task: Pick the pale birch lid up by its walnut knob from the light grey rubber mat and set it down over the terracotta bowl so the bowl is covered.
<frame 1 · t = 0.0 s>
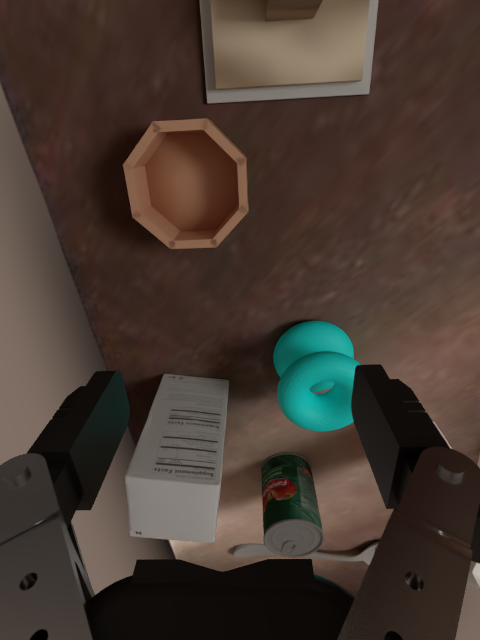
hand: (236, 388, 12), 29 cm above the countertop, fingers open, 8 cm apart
milk: (404, 424, 51), on the countertop
supplement box: (195, 401, 50), on the countertop
canned tomato: (285, 468, 56), on the countertop
donuts: (310, 350, 46), on the countertop
bowl: (194, 183, 37), on the countertop
spoon: (327, 545, 65), on the countertop
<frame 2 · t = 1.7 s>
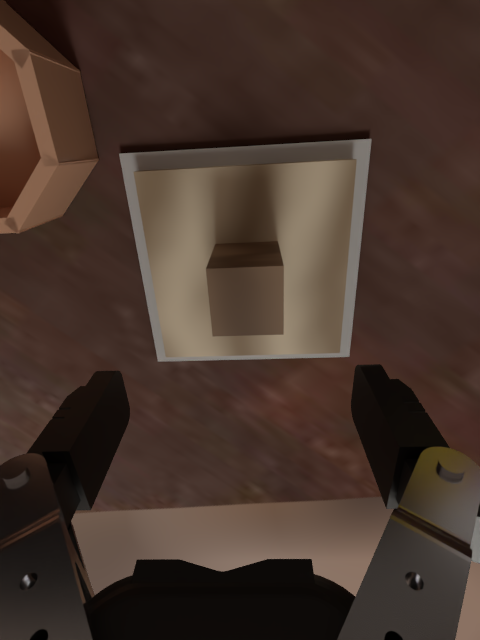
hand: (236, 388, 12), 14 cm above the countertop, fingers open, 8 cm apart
lid: (248, 267, 24), resting on mat
mat: (248, 265, 25), on the countertop
bowl: (0, 123, 21), on the countertop
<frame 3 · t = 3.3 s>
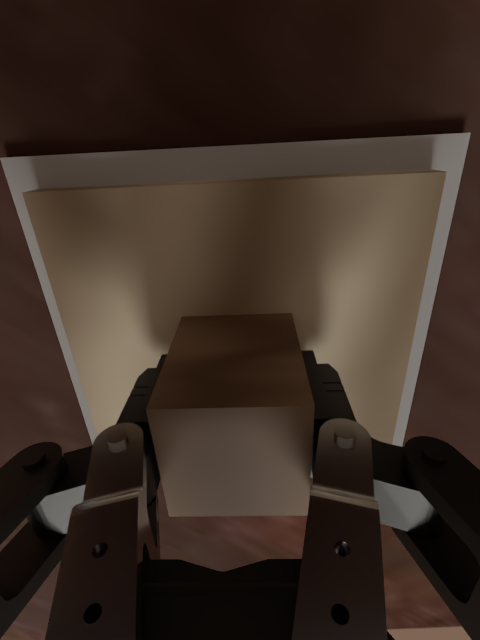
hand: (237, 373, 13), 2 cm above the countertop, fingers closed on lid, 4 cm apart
lid: (239, 347, 15), resting on mat, touching gripper
mat: (240, 342, 15), on the countertop
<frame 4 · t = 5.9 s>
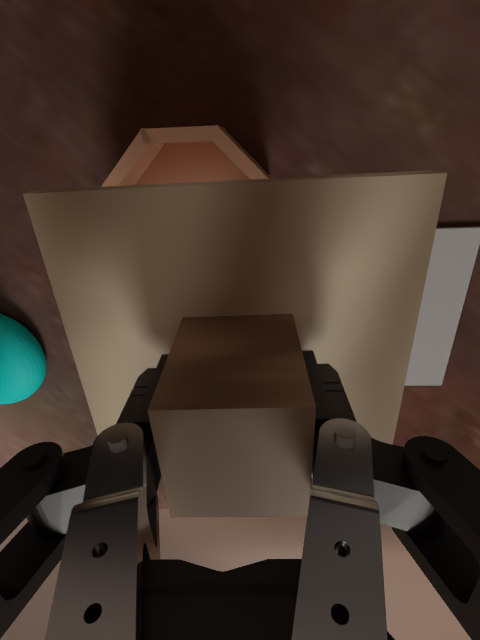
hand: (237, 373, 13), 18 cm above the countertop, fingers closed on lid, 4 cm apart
lid: (240, 348, 15), point 16 cm above the countertop, touching gripper
donuts: (3, 349, 35), on the countertop
mat: (370, 314, 31), on the countertop
bowl: (199, 208, 28), on the countertop
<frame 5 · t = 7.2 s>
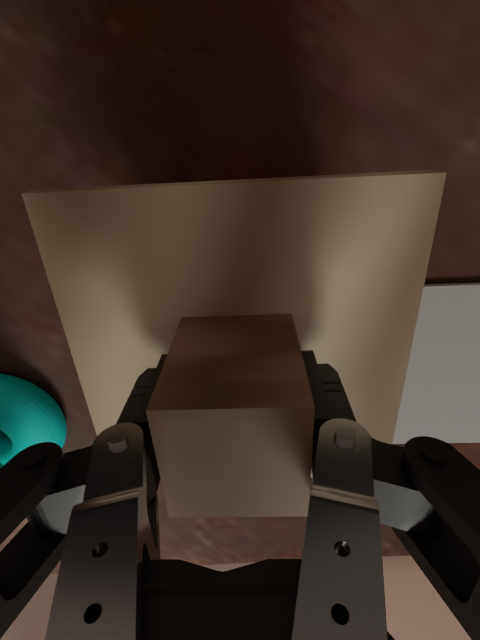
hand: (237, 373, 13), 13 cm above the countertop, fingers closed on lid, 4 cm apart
lid: (239, 348, 15), point 11 cm above the countertop, touching gripper
donuts: (17, 411, 32), on the countertop
mat: (429, 371, 28), on the countertop
when the fingers open (8 cm above the countertop, at t = 8.5 s): lid stays where it is, resting on bowl.
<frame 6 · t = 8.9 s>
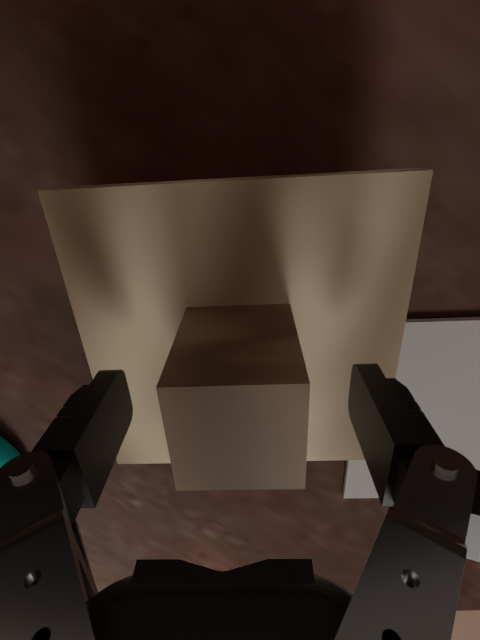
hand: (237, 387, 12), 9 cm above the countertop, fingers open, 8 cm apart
lid: (241, 337, 15), point 5 cm above the countertop, touching bowl
mat: (465, 417, 23), on the countertop
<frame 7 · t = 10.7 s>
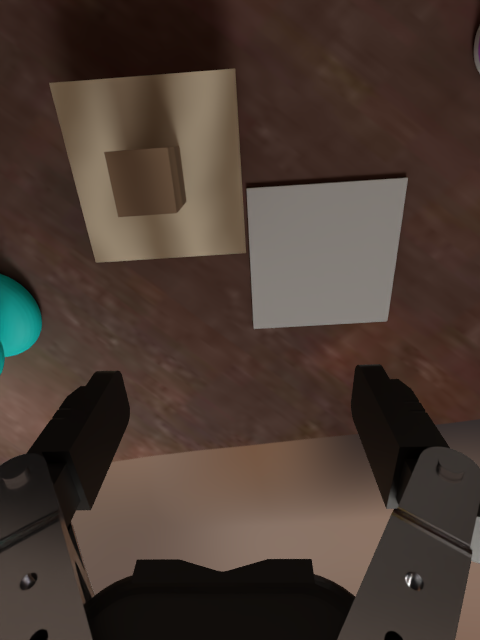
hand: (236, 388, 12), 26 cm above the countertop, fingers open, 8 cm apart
lid: (160, 175, 28), point 5 cm above the countertop, touching bowl
donuts: (1, 308, 39), on the countertop
mat: (322, 259, 37), on the countertop
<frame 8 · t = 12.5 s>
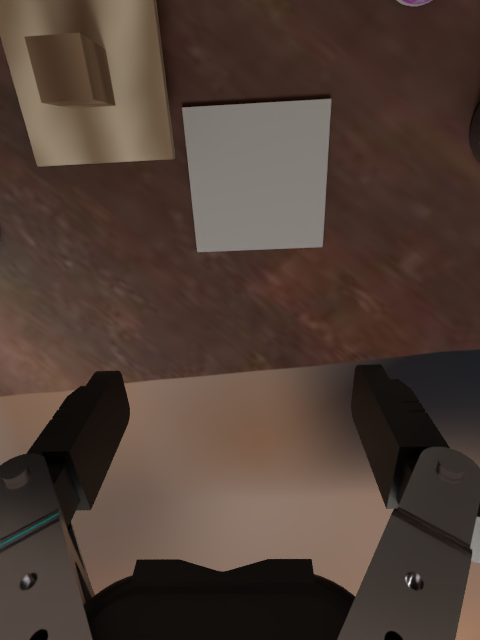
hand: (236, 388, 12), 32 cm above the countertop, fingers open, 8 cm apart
lid: (92, 81, 31), point 5 cm above the countertop, touching bowl
mat: (257, 182, 39), on the countertop
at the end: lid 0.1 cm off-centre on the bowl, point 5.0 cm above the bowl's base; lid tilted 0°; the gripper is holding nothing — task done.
